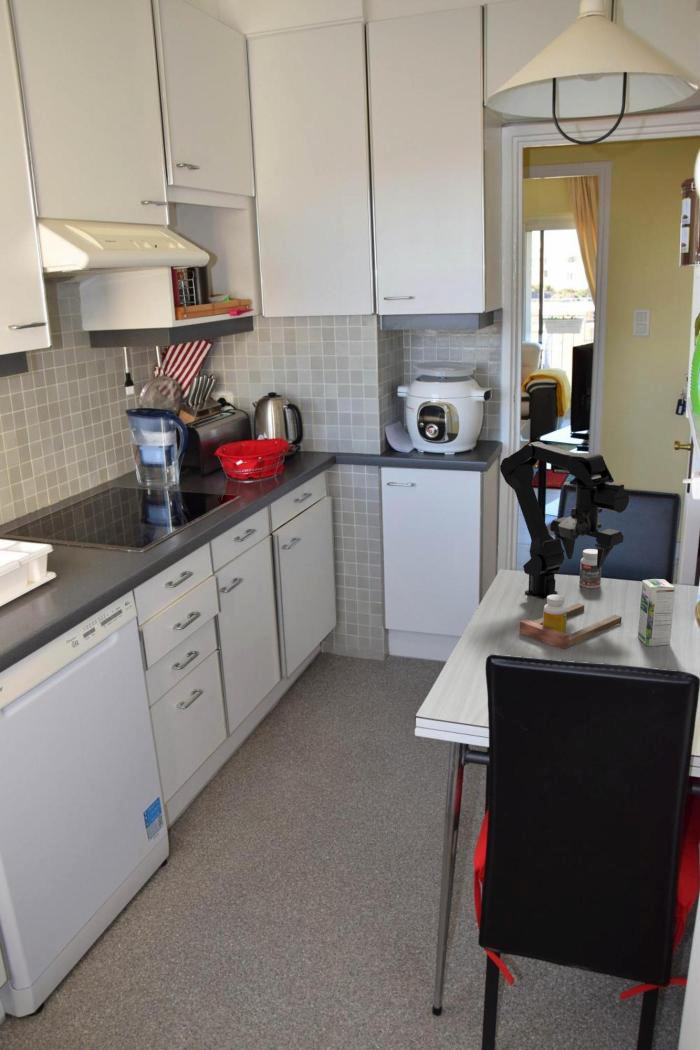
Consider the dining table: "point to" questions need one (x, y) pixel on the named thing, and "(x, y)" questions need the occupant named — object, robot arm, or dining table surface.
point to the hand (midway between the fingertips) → (584, 563)
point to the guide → (562, 639)
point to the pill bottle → (589, 569)
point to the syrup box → (656, 612)
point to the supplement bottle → (555, 613)
